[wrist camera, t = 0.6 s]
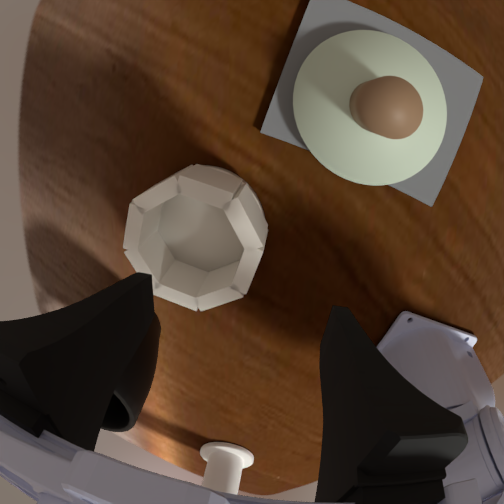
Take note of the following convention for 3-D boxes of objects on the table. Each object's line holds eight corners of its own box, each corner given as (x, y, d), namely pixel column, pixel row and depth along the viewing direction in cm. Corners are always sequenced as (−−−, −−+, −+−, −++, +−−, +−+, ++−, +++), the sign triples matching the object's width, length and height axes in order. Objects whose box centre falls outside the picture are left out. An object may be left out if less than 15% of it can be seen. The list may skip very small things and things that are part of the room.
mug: (69, 327, 29) (21, 389, 20) (119, 262, 24) (52, 336, 15) (128, 377, 31) (92, 445, 22) (194, 328, 26) (156, 419, 17)
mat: (479, 77, 14) (483, 77, 14) (428, 204, 19) (431, 207, 18) (314, -8, 14) (314, -12, 13) (261, 131, 18) (260, 132, 18)
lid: (456, 78, 14) (495, 76, 10) (405, 203, 19) (432, 231, 14) (322, 11, 14) (330, -16, 10) (271, 146, 18) (263, 159, 14)
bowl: (282, 189, 20) (280, 210, 16) (243, 289, 23) (233, 324, 20) (166, 149, 20) (138, 161, 16) (144, 252, 23) (118, 280, 19)
